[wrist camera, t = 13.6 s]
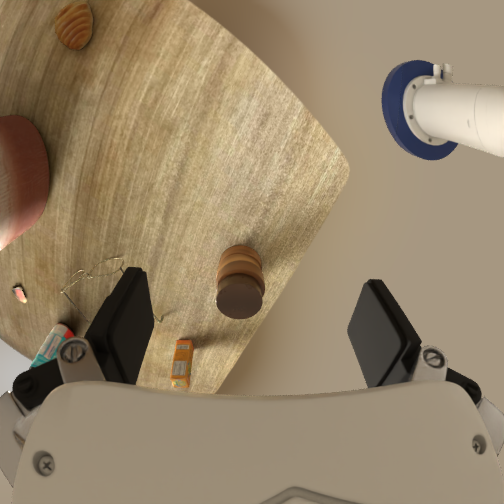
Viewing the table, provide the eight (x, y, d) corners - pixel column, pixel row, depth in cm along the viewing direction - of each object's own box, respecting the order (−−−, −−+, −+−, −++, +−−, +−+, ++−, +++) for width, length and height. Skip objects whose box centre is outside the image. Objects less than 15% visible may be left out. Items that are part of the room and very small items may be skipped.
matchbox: (12, 290, 45) (11, 291, 45) (18, 283, 44) (17, 284, 44) (22, 304, 47) (22, 305, 47) (30, 298, 46) (29, 299, 46)
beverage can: (66, 341, 53) (43, 385, 39) (52, 323, 50) (25, 368, 37) (79, 337, 52) (55, 385, 39) (64, 319, 49) (36, 366, 36)
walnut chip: (217, 271, 35) (216, 282, 33) (263, 274, 36) (264, 284, 33) (217, 306, 38) (216, 318, 36) (259, 309, 38) (260, 320, 36)
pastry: (104, 33, 24) (92, 28, 21) (71, 60, 25) (57, 58, 22) (89, -1, 20) (77, -7, 17) (58, 25, 21) (45, 21, 18)
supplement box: (195, 349, 53) (189, 389, 44) (179, 349, 53) (171, 388, 44) (192, 339, 51) (185, 379, 42) (176, 338, 51) (167, 378, 42)
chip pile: (219, 242, 41) (214, 267, 35) (263, 245, 42) (267, 270, 35) (218, 280, 44) (214, 308, 38) (259, 282, 45) (262, 311, 39)
